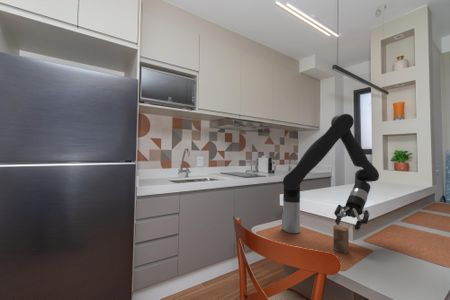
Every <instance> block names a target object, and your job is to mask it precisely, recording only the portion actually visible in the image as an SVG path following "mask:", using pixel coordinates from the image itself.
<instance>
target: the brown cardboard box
mask: <svg viewBox="0 0 450 300" xmlns="http://www.w3.org/2000/svg"><path fill="white" fill-rule="evenodd" d="M332 231H333V234H332V235H333V250H334V251H336V252H338V253H340V254H343V255H346V254H347V253H349V252H350V251H349V247H350V246H349V244H350V243H349V227H348V226H343V225H340V224H339V225H337V224H335V225H333V230H332Z"/></svg>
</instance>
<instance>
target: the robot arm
mask: <svg viewBox="0 0 450 300" xmlns="http://www.w3.org/2000/svg"><path fill="white" fill-rule="evenodd" d="M330 123H331V124H330V125H331V126H330V127H329V128H328V129H327V130H326V131H325V133H324V134H323V135H321V136H320V137H319V138H318V139H316V140H315V141H314V142H313V143H312V144H311V146H309V147H308V149H307V150H306V151H305V152H304V154H303V155H302V157H300V160H299V161H298V163H297V164H296V166H295V167H294V168H292V170H291V171H289V172H288V173H287V174H286V175H285V176H284V177H283V180H282V185H283V196H282V197H283V199H282V200H283V203H282V205H283V207H282V208H283V210H282V211H283V212H282V213H281V230H282V231H284V232H285V233H289V234H298V233H299V234H300V233H301V184H302V182H303V181H304V179H305V178H306V177H307V175H308V174H309V173H310V172H311V171H312V170H313V169H315V168H316V167H317V166H318V164H319V163H320V162H322V160H323V159H324V158H325V157H326V156H327V154H328V153H329V152H330V151H331V149H333V147H334V146H335V144H336V143H337V142H338V141H339V140H341V142H342V144H343V145H344V148H345V149H346V151H347V153H348V156H349V157H350V160H351V162H352V165H353V166H354V167H356V168H360V169H358V170H357V171H356V172H355V174H354V186H353V187H352V190H351V191H350V193H349V195H348V198H347V200H346V203H345V205H344V206H342V205H341V204H338V205H337V207H336V209H335V210H334V212H333V213H334V215H335V217H336V218H335V221H334V222H335V225H340V223H341V221H342V219H343V218H346V217H350V218H351V217H352V218H353V219H355V218H356V220H357V221H356V222H355V225H354V229H355V231H359V230H361V227H362V224H364V225H367V224H368V222H369V217H370V214H371V213H370V212H369V211H368V209H366V210H364V208H365V206H366V203H367V200H368V196H369V193H370V191H371V185H370V183H369V182H371V183H372V182H377V181H378V180H379V178H380V174H379V171H378V169H377V168H376V167H375V166H374V165H373V163H371V161H370V160H369V159H368V157H367V155H366V153H365V151H364V149H363V148H362V146H361V145H360V143H359V142H358V141H357V140H356V138H355V137H354V135H353V133H352V131H351V128H353V125H354V118H353V115H351V114H349V113H340V114H337V115H335V116H333V117H332V119H331V122H330ZM361 168H362V169H361ZM361 215H363V217H362V218H361V217H360V216H361Z"/></svg>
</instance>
